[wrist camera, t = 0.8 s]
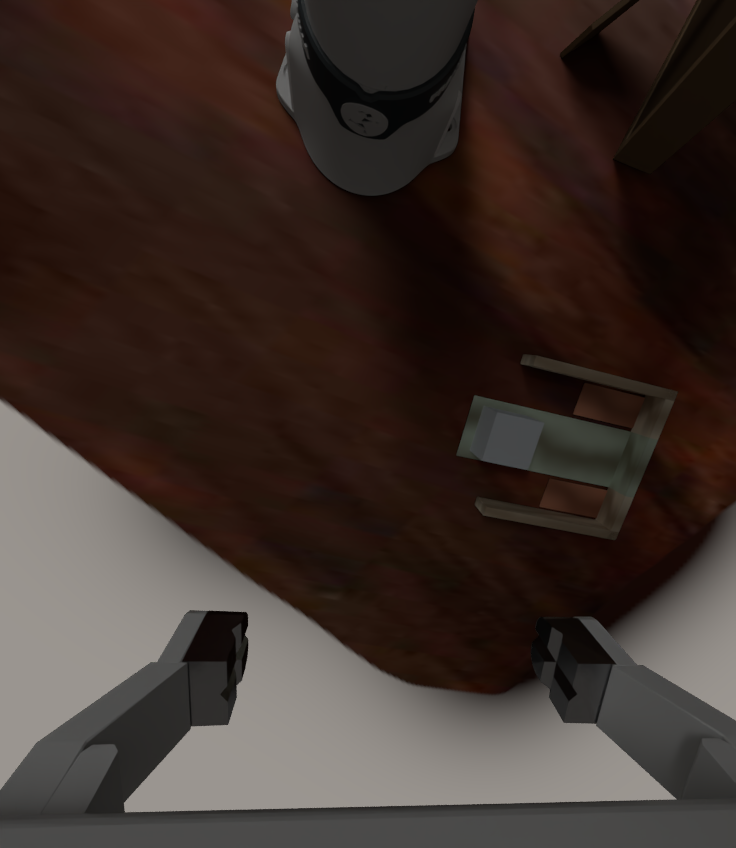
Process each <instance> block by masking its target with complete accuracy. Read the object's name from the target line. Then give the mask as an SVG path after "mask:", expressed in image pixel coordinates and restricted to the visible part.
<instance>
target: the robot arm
mask: <svg viewBox="0 0 736 848" xmlns="http://www.w3.org/2000/svg"><path fill="white" fill-rule="evenodd" d="M477 1H478V0H292V4H291V13H290V14H291V18H292V19H293V20H294V21H293V25H292V28H291V31H288V32H287V33H286V38H285V47H286V54H285V57H284V60H283V63H282V66H281V68H280V71H279V74H278V77H277V81H276V90H277V96H278V98H279V100H280V102H281V104H282V105H283V106H284V108H285V109H286V110H287V112H288V113H289V114H290V115H291V116H292V118H293V119H294V120H295V121H296V123H297V125H298V128H299V130H300V133H301V136H302V139H303V142H304V144H305V147H306V149H307V151H308V153H309V155H310V157H311V159H312V160H313V162H314V163H315V165H316V166H317V167H318V169H319V170H320V171H321V172H322V173H323V174H324V175H325V176H326V177H327V178H328V179H329V180H330V181H332V182H333V183H334V184H336V185H337V186H339V187H341V188H343V189H345V190H347V191H349V192H352V193H355V194H360V195H367V196H376V195H384V194H388V193H391V192H394V191H396V190H398V189H400V188H402V187H403V186H405V185H407V184H408V183H409V182H411V181H412V180H413V179H414V178H415V177H416V176H417V175H418V174H419V173H420V172H421V171H422V170H423V169H424V168H425V167H426V166H428V165H429V164H431V163H434V162H437V161H439V160H442V159H444V158H446V157H448V156H450V155H451V154H452V153H453V152H454V150H455V148H456V146H457V143H458V137H459V125H460V114H461V102H462V90H463V78H464V66H465V54H466V46H467V44H466V42H467V40H468V37H469V34H470V31H471V27H472V23H473V17H474V11H475V6H476V3H477ZM449 128H450V131H448V129H449ZM247 627H248V614H247V613H246V612H228V611H194V610H190V611H189V612H187V613H186V614H185V615H184V617H183V619H182V621H181V623H180V624H179V626H178V628H177V629H176V631H175V633H174V634H173V636H172V638H171V639H170V641H169V643H168V645H167V646H166V648H165V650H164V652H163V653H162V655H161V656H160V658H159V660H158V662H151V663H150V664H148V665H147V666H145V667H144V668H142V669H141V670H140V671H138V672H137V673H135V674H134V675H132V676H131V677H130V678H128V679H127V680H125V681H124V682H122V683H121V684H120V685H118V686H117V687H115V688H114V689H112V690H111V691H110V692H108V693H107V694H105V695H104V696H102V697H101V698H100V699H98V700H97V701H95V702H94V703H92V704H91V705H90V706H88V707H87V708H85V709H84V710H82V711H81V712H80V713H78V714H77V715H75V716H74V717H73V718H71V719H70V720H68V721H67V722H65V723H64V724H63V725H61V726H60V727H58V728H57V729H56V730H54V731H53V732H51V733H50V734H48V735H47V736H46V737H44V738H43V739H41V740H40V741H38V742H37V743H36V744H35V746H34V747H33V748H32V750H31V751H30V752H29V753H28V755H27V756H26V757H25V759H24V760H23V761H22V762H21V764H20V765H19V766H18V768H17V769H16V770H15V772H14V773H13V774H12V775H11V777H10V778H9V780H8V781H7V782H6V783H5V785H4V786H3V787H2V789H1V790H0V848H736V721H735V720H734V719H732V718H730V717H729V716H727V715H725V714H724V713H722V712H720V711H719V710H717V709H715V708H714V707H712V706H710V705H709V704H707V703H705V702H704V701H702V700H700V699H699V698H697V697H695V696H693V695H692V694H690V693H688V692H687V691H685V690H683V689H682V688H680V687H678V686H677V685H675V684H673V683H672V682H670V681H668V680H667V679H665V678H663V677H662V676H660V675H658V674H657V673H655V672H653V671H652V670H650V669H648V668H646V667H645V666H643V665H637V664H636V663H635V662H634V661H633V660H632V659H631V658H630V657H629V655H628V654H627V653H626V652H625V651H624V650H623V649H622V648H621V646H620V645H619V644H618V643H617V642H616V641H615V640H614V639H613V637H611V635H610V634H609V633H608V632H607V631H606V630H605V629H604V627H603V626H602V625H601V624H600V623H599V622H598V621H597V620H596V619H594V618H593V617H540V618H539V619H538V620H537V623H536V627H535V629H536V631H537V633H538V634H539V636H538V637H537V638H536V639H535V640H534V641H533V642H532V648H531V658H532V664H533V667H534V670H535V673H536V674H537V676H538V678H539V680H540V681H541V682H542V683H543V684H544V685H546V686H547V687H548V688H550V695H549V698H550V699H551V701H552V703H553V705H554V706H555V708H556V710H557V712H558V713H559V715H560V717H561V719H562V720H563V722H564V723H594V724H596V726H597V727H599V728H600V729H601V730H602V731H603V732H604V733H605V734H606V735H607V736H608V737H609V738H611V739H612V740H613V741H614V742H615V743H616V744H617V745H618V746H619V747H620V748H621V749H622V750H624V751H625V752H626V753H627V754H628V755H629V756H630V757H631V758H632V759H633V760H635V761H636V762H637V763H638V764H639V765H640V766H641V767H642V768H643V769H645V771H647V772H648V773H649V774H650V775H651V776H652V777H653V778H654V779H655V780H656V781H658V782H659V783H660V784H661V785H662V786H663V787H664V788H665V789H666V790H667V791H669V793H671V794H672V795H673V796H674V797H675V798H676V799H677V800H643V801H642V800H641V801H599V802H598V801H597V802H558V803H557V802H556V803H515V804H477V805H475V804H472V805H431V806H430V805H428V806H386V807H340V808H298V809H258V810H257V809H256V810H216V811H215V810H212V811H175V812H174V811H172V812H128V813H125V811H124V802H125V801H126V800H127V798H129V796H130V795H131V794H132V793H133V792H134V791H135V790H136V789H137V788H138V787H139V785H140V784H141V783H142V782H143V781H144V780H145V779H146V778H147V777H148V775H149V774H150V773H151V772H152V771H153V770H154V769H155V768H156V767H157V765H158V764H159V763H160V762H161V761H162V760H163V759H164V758H165V757H166V755H167V754H168V753H169V752H170V751H171V750H172V749H173V748H174V747H175V745H177V743H178V742H179V741H180V740H181V739H182V738H183V737H184V736H185V734H186V733H187V732H188V731H189V730H190V728H191V726H209V725H228V723H229V720H230V717H231V714H232V710H233V707H234V704H235V701H236V698H237V696H236V694H237V693H236V692H237V690H236V685H237V684H238V683H239V682H241V681H242V677H243V674H244V670H245V666H246V661H247V655H248V638H247V637H246V636H245V633H246V630H247Z"/></svg>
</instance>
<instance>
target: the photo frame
mask: <svg viewBox="0 0 736 848" xmlns="http://www.w3.org/2000/svg"><path fill="white" fill-rule="evenodd" d="M638 1H639V0H621V1H620V2H619V3H618V4H616V5H615V6H614V7H613V8H611V9H610V10H609V11H608V12H606V13H605V14H604V15H603V16H601V17H600V18H599V19H598V20H596V21H595V22H594V23H593V24H592V25H590V26H589V27H588V28H587V29H586V30H585V31H584V32H583V33H582V34H581V35H580V36H579V37H577V38H576V39H575V40H574V41H573V42H572V43H571V44H570V45H569V46H568V47H567V48H566V49H564V50H563V51H562V52H561V53H560V55H561V58H563V57H564V56H566V55H567V54H569V53H570V52H572V51H573V50H575V49H576V48H577V47H579V46H580V45H582V44H583V43H585V42H586V41H588V40H589V39H591V38H592V37H594V36H595V35H597V34H598V33H599V32H601V31H602V30H603V29H604V28H606V27H607V26H608V25H609V24H610V23H612V22H613V21H614V20H615V19H617V18H618V17H619V16H620V15H622V14H623V13H624V12H625V11H627V10H628V9H629V8H630V7H631V6H633V5H634V4H635V3H636V2H638ZM735 100H736V0H697V1H696V3H695V5H694V7H693V8H692V10H691V12H690V14H689V16H688V18H687V20H686V22H685V24H684V25H683V27H682V29H681V31H680V33H679V35H678V37H677V39H676V41H675V43H674V44H673V46H672V48H671V50H670V52H669V54H668V56H667V58H666V60H665V61H664V63H663V65H662V67H661V69H660V71H659V73H658V75H657V77H656V79H655V80H654V82H653V84H652V86H651V88H650V90H649V92H648V94H647V96H646V97H645V99H644V101H643V103H642V105H641V107H640V109H639V111H638V113H637V115H636V116H635V118H634V120H633V122H632V124H631V126H630V128H629V130H628V132H627V133H626V135H625V137H624V139H623V141H622V143H621V145H620V147H619V149H618V151H617V152H616V154H615V156H614V158H613V159H614V160H616V161H619V162H621V163H624V164H626V165H629V166H631V167H633V168H636V169H638V170H641V171H643V172H646V173H648V174H651V173H652V172H654V171H655V170H656V169H657V168H658V167H659V166H660V165H662V164H663V163H664V162H665V161H666V160H667V159H669V158H670V157H671V156H672V155H673V154H674V153H675V152H677V151H678V150H679V149H680V148H681V147H682V146H684V145H685V144H686V143H687V142H688V141H689V140H690V139H692V138H693V137H694V136H695V135H696V134H697V133H698V132H700V131H701V130H702V129H703V128H704V127H705V126H707V125H708V124H709V123H710V122H711V121H712V120H713V119H715V118H716V117H717V116H718V115H719V114H720V113H721V112H723V111H724V110H725V109H726V108H727V107H728V106H730V105H731V104H732V103H733V102H734V101H735Z"/></svg>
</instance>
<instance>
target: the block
mask: <svg viewBox="0 0 736 848" xmlns="http://www.w3.org/2000/svg"><path fill="white" fill-rule="evenodd" d="M543 426H544V422H541V421H539V420H536V419H534V418H531V417H529V416H526V415H522V414H517V413H513V412H509V411H504V410H500V409H496V408H491V407H487V406H483V409H482V412H481V415H480V419H479V422H478V425H477V428H476V431H475V435H474V438H473V441H472V444H471V448H470V451H471V452H472V453H473V454H474V455H476V456H477V457H478V458H479V459H480V460H481V461H485V462H490V463H495V464H500V465H505V466H509V467H514V468H519V469H524V470H528V469H529V466H530V463H531V460H532V457H533V454H534V452H535V449H536V446H537V443H538V440H539V437H540V435H541V432H542V429H543Z"/></svg>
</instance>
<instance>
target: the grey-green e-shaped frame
mask: <svg viewBox="0 0 736 848" xmlns="http://www.w3.org/2000/svg"><path fill="white" fill-rule="evenodd" d="M520 364H523V365H526V366H530V367H534V368H538V369H542V370H546V371H550V372H554V373H558V374H562V375H566V376H570V377H574V378H578V379H582V380H586V381H590V382H594V383H598V384H602V385H606V386H610V387H614V388H618V389H622V390H626V391H630V392H634V393H638V394H642V395H645V398H644V397H640V396H636V395H632V394H628V393H624V392H620V391H616V390H612V389H608V388H604V387H600V386H596V385H592V384H588V383H584V385H583V388H582V390H581V393H580V396H579V398H578V401H577V404H576V407H575V409H574V412H573V414H574V415H578V416H582V417H586V418H591V419H595V420H599V421H603V422H608V423H612V424H616V425H620V426H625V427H629V428H632V430H631V432H629V431H625V430H621V429H617V428H612V427H608V426H604V425H599V424H595V423H591V422H587V421H582V420H578V419H574V418H570V417H565V416H561V415H557V414H553V413H548V412H544V411H540V410H535V409H531V408H527V407H523V406H518V405H514V404H510V403H506V402H501V401H497V400H493V399H488V398H484V397H480V396H476V395H474V398H473V401H472V405H471V408H470V411H469V415H468V418H467V421H466V425H465V428H464V431H463V435H462V438H461V441H460V444H459V448H458V451H457V454H456V455H457V456H462V457H466V458H471V459H476V460H480V459H479V458H478V457H477V456H476V455H474V454H473V453H472V452H471V451H470V448H471V444H472V441H473V438H474V435H475V431H476V428H477V425H478V422H479V419H480V415H481V412H482V409H483V406H487V407H491V408H496V409H500V410H504V411H509V412H513V413H517V414H522V415H526V416H529V417H531V418H534V419H536V420H539V421H541V422H544V426H543V429H542V432H541V435H540V437H539V440H538V443H537V446H536V449H535V452H534V454H533V457H532V460H531V463H530V466H529V469H528V470H529V471H534V472H538V473H543V474H548V475H553V476H558V477H562V478H567V479H572V480H577V481H581V482H586V483H591V484H596V485H601V486H605V487H608V489H607V490H603V489H599V488H594V487H589V486H584V485H579V484H574V483H570V482H565V481H560V480H555V479H550V478H549V481H548V483H547V486H546V489H545V492H544V494H543V497H542V500H541V503H540V505H539V507H543V508H548V509H553V510H558V511H563V512H568V513H573V514H579V515H584V516H589V517H594V518H596V519H590V518H585V517H579V516H574V515H569V514H564V513H559V512H554V511H548V510H543V509H538V508H533V507H528V506H523V505H518V504H512V503H507V502H502V501H497V500H492V499H487V498H481V497H477V499H476V502H475V506H476V507H477V508H478V510H479V511H480V512H481V513H482V514H483V515H484V516H489V517H494V518H500V519H505V520H510V521H516V522H521V523H526V524H532V525H537V526H542V527H548V528H553V529H558V530H564V531H569V532H575V533H580V534H585V535H591V536H596V537H601V538H607V539H612V540H616V538H617V536H618V533H619V531H620V528H621V526H622V524H623V521H624V519H625V517H626V514H627V512H628V510H629V507H630V505H631V502H632V500H633V498H634V495H635V493H636V491H637V488H638V486H639V484H640V481H641V479H642V476H643V474H644V472H645V469H646V467H647V465H648V462H649V460H650V457H651V455H652V453H653V450H654V448H655V446H656V443H657V441H658V439H659V436H660V434H661V431H662V429H663V427H664V424H665V422H666V420H667V417H668V415H669V413H670V410H671V408H672V405H673V403H674V401H675V398H676V396H677V394H678V392H677V391H673V390H669V389H665V388H661V387H658V386H654V385H650V384H646V383H642V382H638V381H634V380H630V379H626V378H622V377H619V376H615V375H611V374H607V373H603V372H599V371H595V370H591V369H587V368H583V367H579V366H576V365H572V364H568V363H564V362H560V361H556V360H552V359H548V358H544V357H540V356H537V355H526V354H523V357H522V360H521V363H520Z"/></svg>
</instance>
